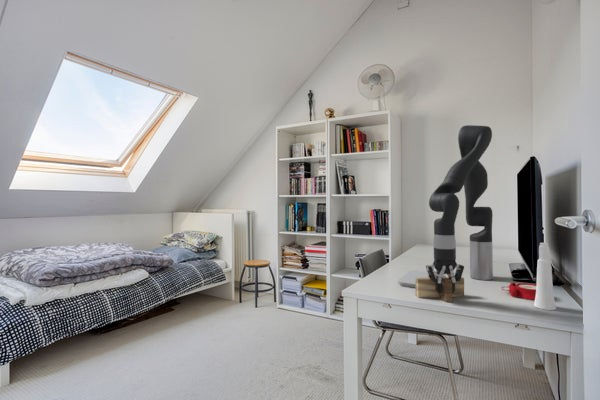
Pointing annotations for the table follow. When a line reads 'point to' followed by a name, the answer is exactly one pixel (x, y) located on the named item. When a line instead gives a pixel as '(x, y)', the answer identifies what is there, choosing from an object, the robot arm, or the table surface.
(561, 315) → the table surface
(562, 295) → the table surface
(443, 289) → the walnut cross plate
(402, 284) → the tablet
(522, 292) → the alarm clock
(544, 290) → the cosmetic bottle
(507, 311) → the table surface
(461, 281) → the oak slotted rail
